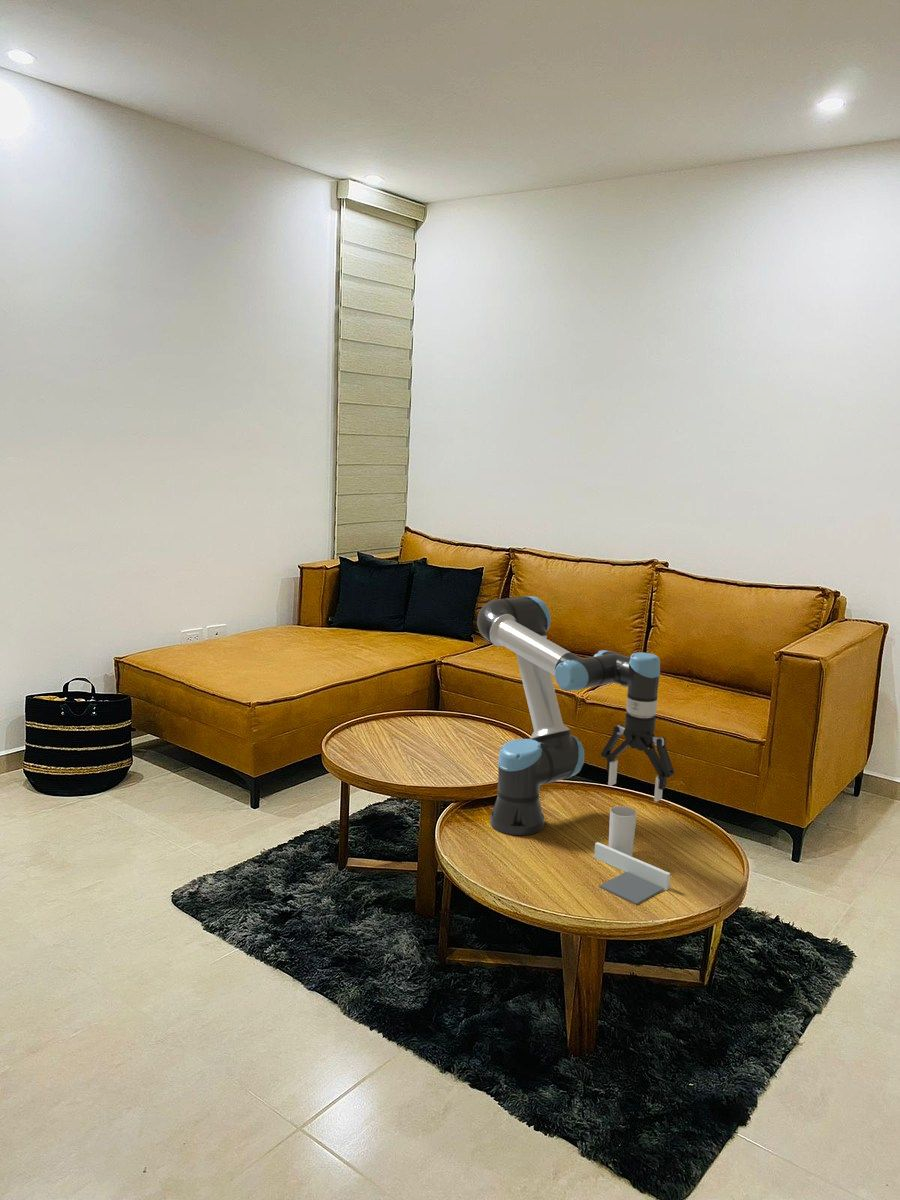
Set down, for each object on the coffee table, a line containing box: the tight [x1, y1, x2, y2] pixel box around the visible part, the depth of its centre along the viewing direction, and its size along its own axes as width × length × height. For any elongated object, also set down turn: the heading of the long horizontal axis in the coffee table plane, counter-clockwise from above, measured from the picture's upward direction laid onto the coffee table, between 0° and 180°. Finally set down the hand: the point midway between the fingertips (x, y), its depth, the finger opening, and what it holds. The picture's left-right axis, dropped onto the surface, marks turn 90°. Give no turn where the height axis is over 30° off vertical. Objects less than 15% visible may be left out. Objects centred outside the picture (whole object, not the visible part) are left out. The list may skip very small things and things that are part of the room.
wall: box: [593, 841, 671, 891], centre depth 224 cm, size 22×1×4 cm, turn 43°
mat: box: [598, 871, 665, 906], centre depth 216 cm, size 11×11×1 cm
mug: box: [608, 805, 637, 857], centre depth 234 cm, size 10×7×12 cm, turn 137°
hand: (634, 792), depth 231 cm, fingers open, 13 cm apart
